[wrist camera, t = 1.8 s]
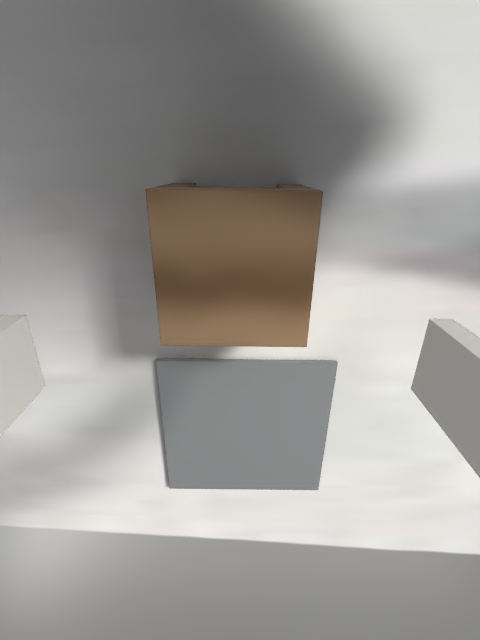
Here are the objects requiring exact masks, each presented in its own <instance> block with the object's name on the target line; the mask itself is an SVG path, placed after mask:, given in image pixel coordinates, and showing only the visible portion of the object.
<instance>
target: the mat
mask: <svg viewBox="0 0 480 640" xmlns="http://www.w3.org/2000/svg"><path fill="white" fill-rule="evenodd" d="M156 368H157V377H158V386H159V395H160V405H161V414H162V423H163V432H164V441H165V450H166V460H167V469H168V478H169V487H170V488H177V489H271V490H318V487H319V480H320V474H321V467H322V461H323V454H324V448H325V441H326V435H327V428H328V422H329V415H330V409H331V402H332V396H333V389H334V383H335V376H336V370H337V361H333V360H242V359H156Z"/></svg>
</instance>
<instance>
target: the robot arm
mask: <svg viewBox="0 0 480 640" xmlns="http://www.w3.org/2000/svg"><path fill="white" fill-rule="evenodd" d="M44 387H45V382H44V379H43V375H42V371H41V368H40V364H39V361H38V357H37V353H36V350H35V346H34V343H33V339H32V335H31V332H30V328H29V325H28V321H27V317H26V315H2V316H0V436H1V435H2V434H3V433H4V432H5V430H6V429H7V428H8V427H9V426H10V425H11V424H12V423H13V422H14V420H15V419H16V418H17V417H18V416H19V415H20V414H21V413H22V412H23V410H24V409H25V408H26V407H27V406H28V405H29V404H30V403H31V401H32V400H33V399H34V398H35V397H36V396H37V395H38V394H39V393H40V391H41V390H42V389H43V388H44ZM411 389H412V391H413V392H414V393H415V395H416V396H417V397H418V398H419V400H420V401H421V402H422V404H423V405H424V406H425V408H426V409H427V410H428V411H429V413H430V414H431V415H432V417H433V418H434V419H435V420H436V422H437V423H438V424H439V426H440V427H441V428H442V430H443V431H444V432H445V433H446V435H447V436H448V437H449V439H450V440H451V441H452V442H453V444H454V445H455V446H456V448H457V449H458V450H459V452H460V453H461V454H462V455H463V457H464V458H465V459H466V461H467V462H468V463H469V464H470V466H471V467H472V468H473V470H474V471H475V472H476V474H477V475H478V476H479V477H480V338H479V337H478V336H476V335H475V334H473V333H472V332H471V331H469V330H468V329H466V328H465V327H464V326H462V325H461V324H459V323H458V322H457V321H455V320H454V319H429V323H428V326H427V330H426V334H425V338H424V342H423V345H422V349H421V353H420V357H419V360H418V364H417V368H416V372H415V375H414V379H413V383H412V387H411Z"/></svg>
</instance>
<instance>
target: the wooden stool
mask: <svg viewBox="0 0 480 640" xmlns="http://www.w3.org/2000/svg"><path fill="white" fill-rule="evenodd" d="M322 197H323V191H319V190H316V189H313V188H309V187H306V186H303V185H289V184H277V188H207V187H196V183H172V184H167V185H163V186H159V187H155V188H150V189H146V198H147V208H148V218H149V228H150V238H151V248H152V258H153V268H154V278H155V289H156V299H157V309H158V319H159V329H160V339H161V345H173V346H263V347H307V338H308V328H309V319H310V310H311V300H312V291H313V281H314V272H315V262H316V253H317V244H318V234H319V225H320V215H321V206H322Z"/></svg>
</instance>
